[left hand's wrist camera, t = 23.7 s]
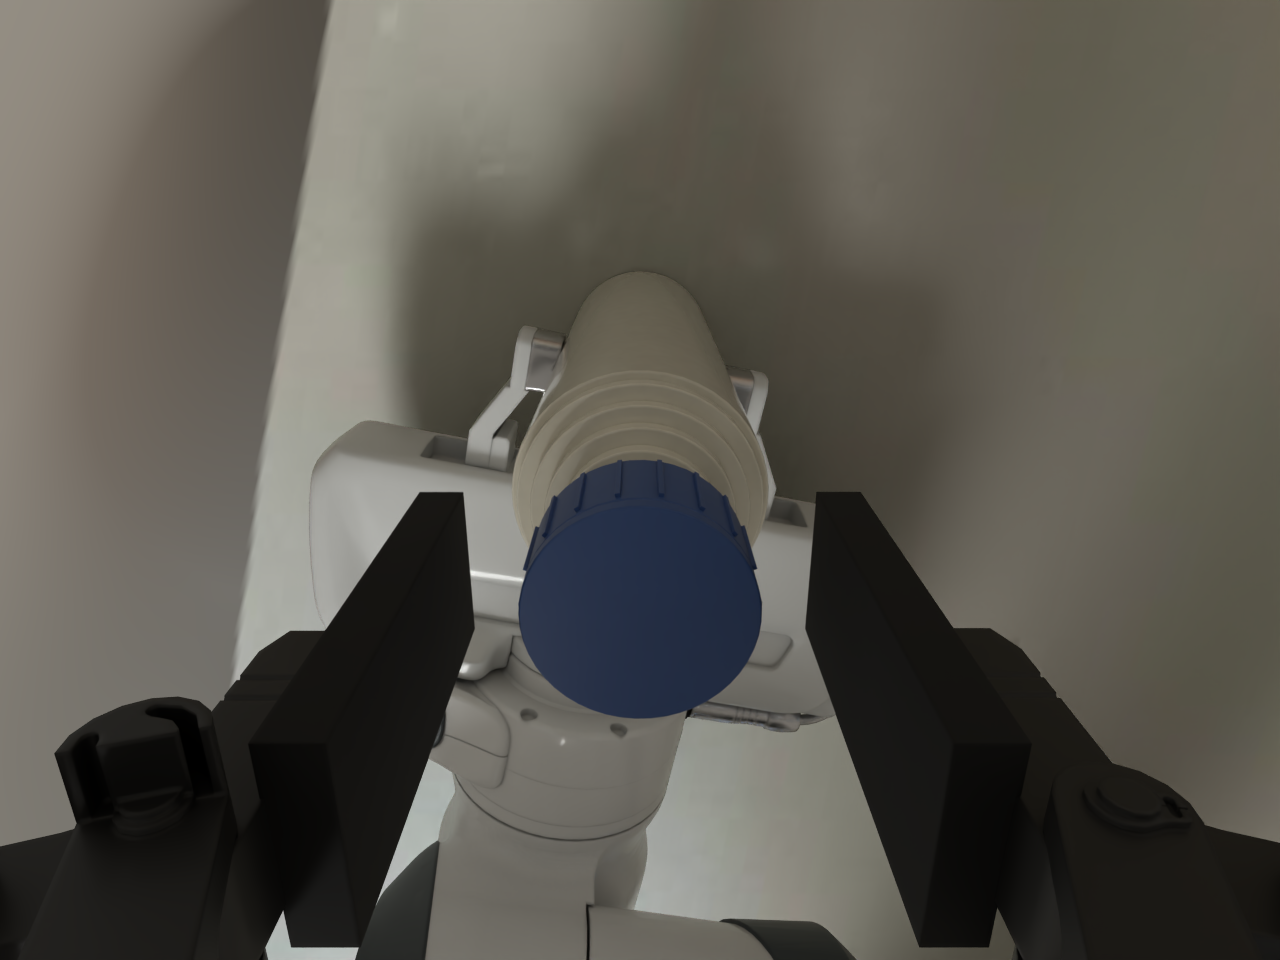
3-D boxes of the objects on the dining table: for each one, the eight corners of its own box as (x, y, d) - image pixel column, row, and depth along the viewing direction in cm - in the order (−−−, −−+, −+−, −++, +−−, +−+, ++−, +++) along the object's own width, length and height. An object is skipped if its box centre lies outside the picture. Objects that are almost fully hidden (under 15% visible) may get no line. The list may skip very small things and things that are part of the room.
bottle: (713, 275, 32) (831, 447, 12) (701, 408, 34) (786, 742, 14) (575, 267, 32) (469, 427, 12) (571, 401, 34) (474, 727, 14)
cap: (776, 613, 15) (796, 680, 13) (579, 675, 15) (569, 749, 13) (709, 425, 14) (721, 468, 12) (496, 500, 14) (473, 552, 12)
